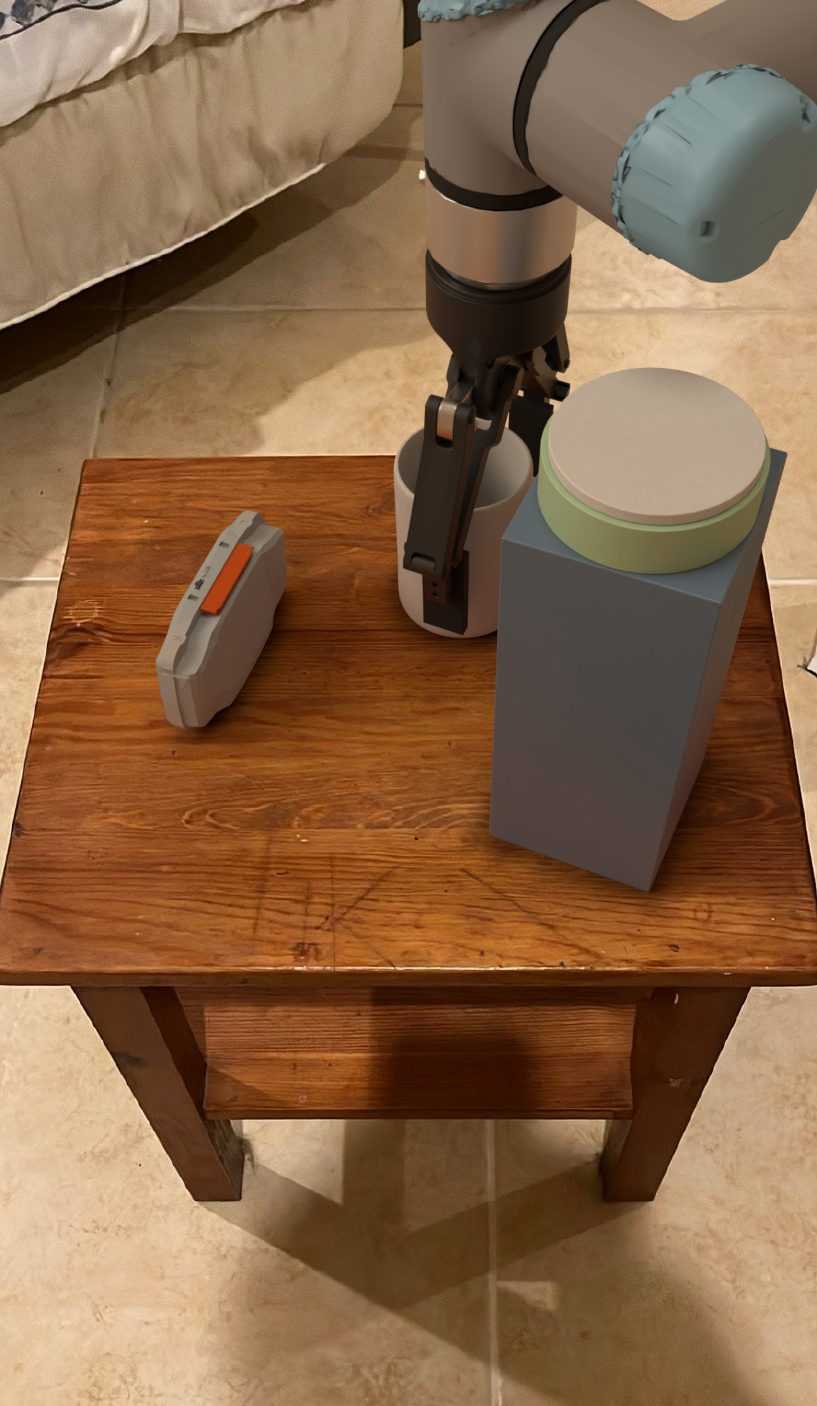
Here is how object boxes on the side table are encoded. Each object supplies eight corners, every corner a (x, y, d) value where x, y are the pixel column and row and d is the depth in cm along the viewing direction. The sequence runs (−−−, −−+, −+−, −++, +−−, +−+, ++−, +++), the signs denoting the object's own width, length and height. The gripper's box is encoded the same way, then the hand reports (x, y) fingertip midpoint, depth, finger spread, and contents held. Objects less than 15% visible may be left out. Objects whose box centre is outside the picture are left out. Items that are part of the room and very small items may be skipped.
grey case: (259, 579, 89) (242, 488, 82) (298, 589, 88) (285, 499, 81) (168, 741, 82) (141, 656, 75) (210, 753, 81) (188, 669, 75)
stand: (702, 763, 80) (788, 451, 59) (648, 893, 75) (722, 603, 55) (549, 713, 82) (581, 395, 62) (488, 835, 78) (500, 537, 57)
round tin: (785, 452, 59) (801, 395, 57) (720, 601, 55) (734, 547, 52) (582, 397, 62) (588, 340, 59) (503, 536, 57) (506, 481, 54)
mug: (397, 640, 86) (390, 513, 76) (400, 546, 90) (394, 415, 81) (580, 639, 85) (596, 512, 76) (574, 544, 90) (589, 413, 80)
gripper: (521, 104, 73) (506, 414, 91) (324, 380, 62) (352, 671, 80) (649, 133, 71) (608, 443, 89) (471, 422, 60) (465, 709, 78)
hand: (487, 551), depth 85 cm, fingers open, 13 cm apart
